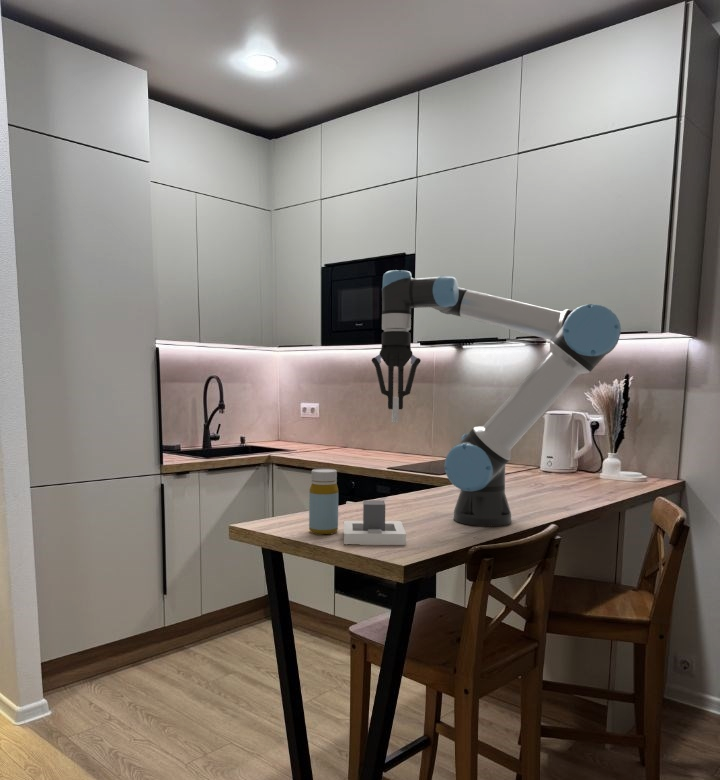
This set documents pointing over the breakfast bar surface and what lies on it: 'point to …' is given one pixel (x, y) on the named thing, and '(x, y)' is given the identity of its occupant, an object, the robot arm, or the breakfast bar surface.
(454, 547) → the breakfast bar surface
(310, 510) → the bottle
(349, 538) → the socket plate
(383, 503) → the plug
